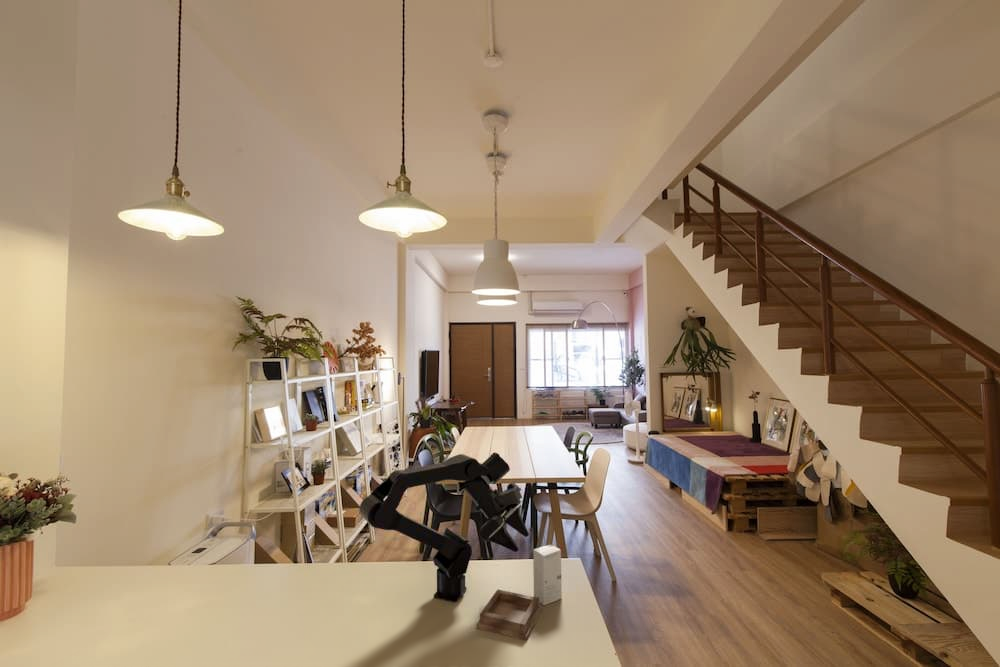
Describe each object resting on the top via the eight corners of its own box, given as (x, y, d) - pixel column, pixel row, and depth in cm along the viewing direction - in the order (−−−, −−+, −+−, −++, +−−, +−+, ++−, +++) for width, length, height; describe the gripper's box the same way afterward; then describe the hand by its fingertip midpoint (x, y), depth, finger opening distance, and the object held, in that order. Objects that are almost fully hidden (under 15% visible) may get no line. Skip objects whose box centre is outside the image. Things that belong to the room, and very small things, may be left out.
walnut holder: (476, 627, 100) (476, 615, 100) (496, 598, 111) (496, 587, 111) (526, 640, 95) (526, 627, 95) (542, 608, 106) (542, 597, 107)
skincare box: (543, 606, 108) (543, 556, 108) (532, 597, 111) (532, 549, 112) (562, 598, 111) (562, 549, 111) (551, 590, 115) (550, 543, 115)
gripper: (490, 486, 108) (534, 538, 104) (513, 466, 125) (552, 510, 121) (461, 515, 110) (503, 567, 106) (488, 491, 128) (525, 535, 123)
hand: (522, 543), depth 114 cm, fingers open, 9 cm apart
